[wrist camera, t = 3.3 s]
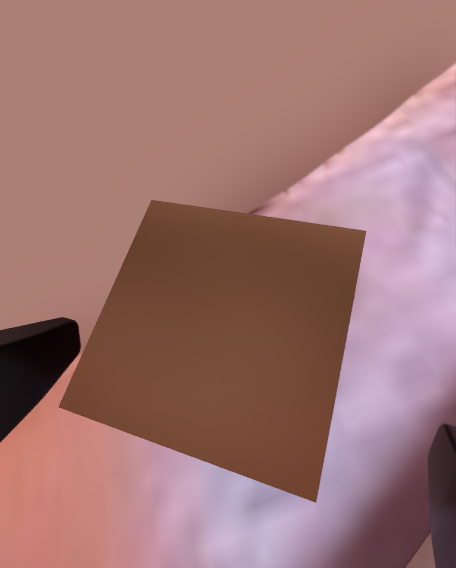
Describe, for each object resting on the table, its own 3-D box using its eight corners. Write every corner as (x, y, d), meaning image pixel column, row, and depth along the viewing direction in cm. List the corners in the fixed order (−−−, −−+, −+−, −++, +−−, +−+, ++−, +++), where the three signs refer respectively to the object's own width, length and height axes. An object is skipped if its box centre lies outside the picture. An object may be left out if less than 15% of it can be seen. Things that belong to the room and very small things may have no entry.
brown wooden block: (306, 461, 16) (316, 502, 5) (213, 429, 17) (58, 407, 6) (326, 363, 17) (365, 231, 6) (239, 340, 18) (151, 200, 8)
